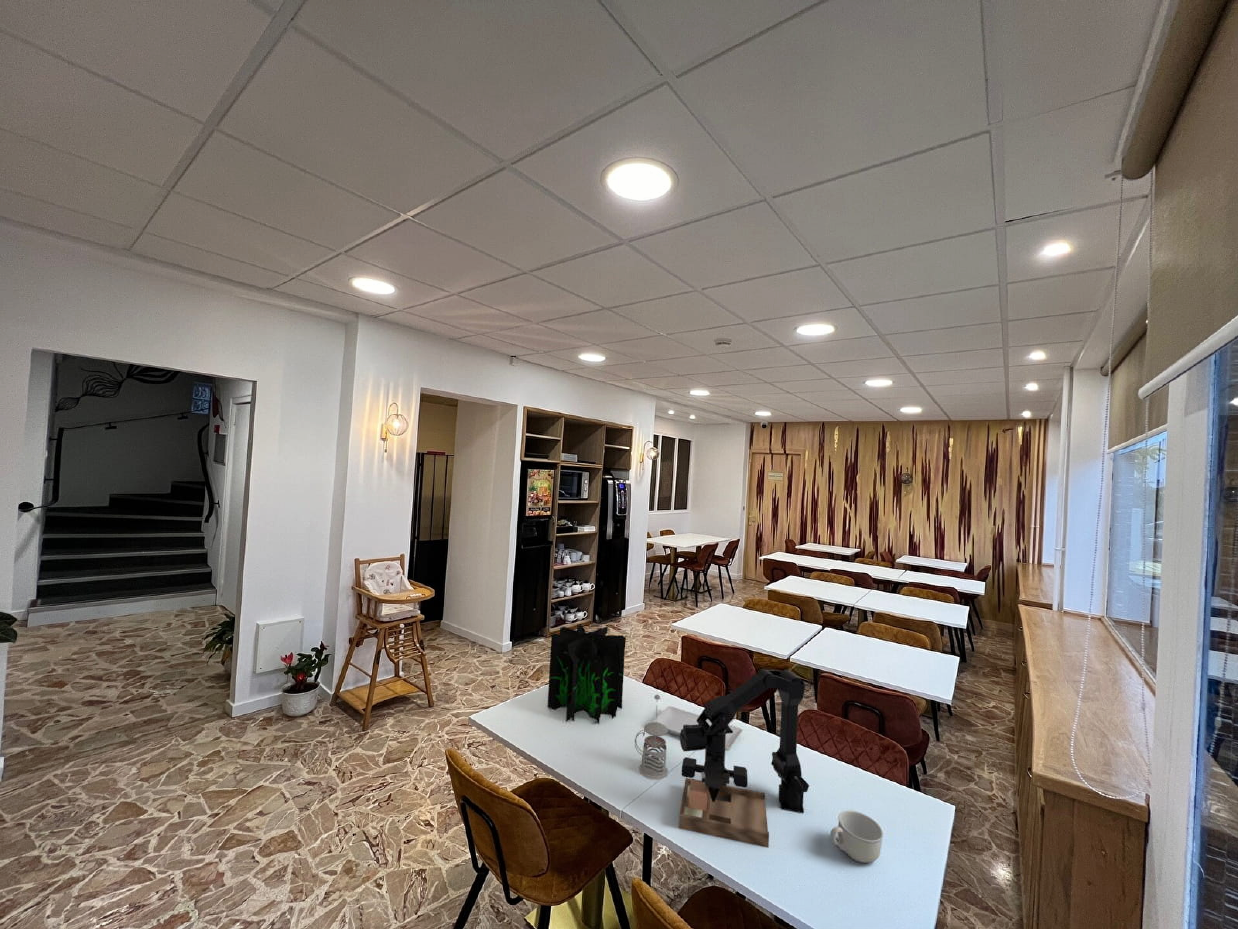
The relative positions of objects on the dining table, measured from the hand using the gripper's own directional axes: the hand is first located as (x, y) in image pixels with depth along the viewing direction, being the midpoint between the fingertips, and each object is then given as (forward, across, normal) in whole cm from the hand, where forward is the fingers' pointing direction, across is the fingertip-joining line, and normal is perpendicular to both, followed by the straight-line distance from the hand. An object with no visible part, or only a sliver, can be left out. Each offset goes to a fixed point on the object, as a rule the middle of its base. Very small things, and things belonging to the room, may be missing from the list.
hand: (713, 801), depth 145 cm
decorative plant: (+3, -55, +51) cm, 75 cm away
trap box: (+4, +3, 0) cm, 5 cm away
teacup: (+4, +37, -4) cm, 38 cm away
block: (+2, -4, 0) cm, 5 cm away
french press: (+4, -21, +16) cm, 26 cm away
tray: (+4, -8, +44) cm, 45 cm away
